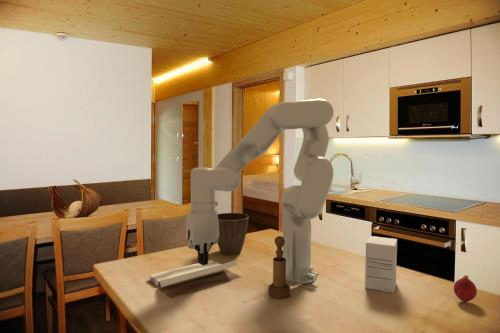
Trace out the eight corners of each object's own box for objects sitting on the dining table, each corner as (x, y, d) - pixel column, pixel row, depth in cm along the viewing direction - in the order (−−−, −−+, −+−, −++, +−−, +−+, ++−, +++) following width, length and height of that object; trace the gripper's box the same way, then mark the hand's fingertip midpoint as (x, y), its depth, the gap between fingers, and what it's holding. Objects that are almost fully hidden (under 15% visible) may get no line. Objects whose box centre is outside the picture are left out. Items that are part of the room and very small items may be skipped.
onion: (476, 308, 101) (477, 280, 100) (452, 303, 104) (453, 276, 103) (476, 300, 106) (477, 274, 105) (453, 296, 109) (454, 270, 108)
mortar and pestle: (275, 301, 106) (275, 240, 104) (264, 292, 111) (264, 235, 110) (294, 296, 109) (294, 237, 107) (282, 288, 114) (283, 232, 113)
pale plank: (237, 265, 121) (236, 260, 121) (172, 283, 106) (171, 277, 106) (224, 269, 127) (223, 264, 127) (161, 287, 112) (160, 281, 112)
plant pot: (204, 256, 146) (204, 217, 145) (227, 247, 158) (227, 211, 157) (234, 263, 137) (233, 222, 136) (255, 253, 150) (255, 215, 148)
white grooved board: (241, 280, 121) (241, 272, 121) (171, 302, 105) (171, 293, 104) (213, 266, 134) (213, 259, 134) (147, 284, 118) (146, 275, 117)
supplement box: (368, 278, 123) (369, 235, 122) (396, 283, 119) (397, 238, 118) (363, 288, 115) (365, 242, 113) (394, 293, 111) (395, 245, 110)
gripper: (216, 202, 121) (216, 256, 122) (175, 207, 111) (176, 265, 113) (229, 205, 115) (229, 262, 116) (188, 211, 106) (188, 272, 107)
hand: (203, 263), depth 115 cm, fingers closed
